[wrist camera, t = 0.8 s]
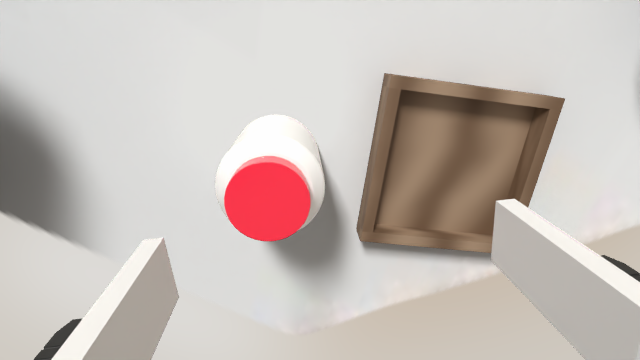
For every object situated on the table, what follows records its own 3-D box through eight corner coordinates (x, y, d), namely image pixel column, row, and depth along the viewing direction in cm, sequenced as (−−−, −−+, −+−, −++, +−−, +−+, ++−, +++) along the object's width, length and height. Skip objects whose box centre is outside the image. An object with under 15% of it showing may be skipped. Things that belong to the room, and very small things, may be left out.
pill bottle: (282, 211, 35) (275, 277, 25) (216, 160, 33) (180, 209, 23) (336, 152, 34) (353, 197, 23) (271, 95, 32) (258, 117, 21)
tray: (356, 228, 36) (360, 241, 34) (384, 73, 32) (391, 75, 29) (498, 242, 38) (511, 254, 36) (546, 95, 33) (565, 98, 31)
